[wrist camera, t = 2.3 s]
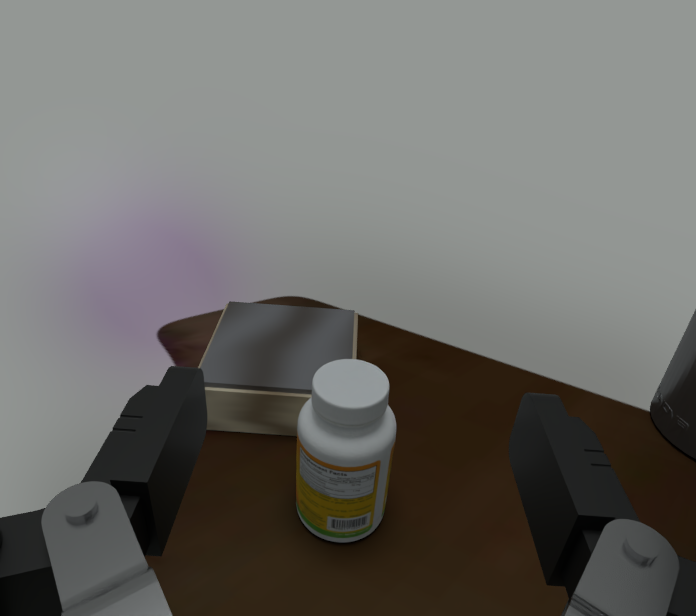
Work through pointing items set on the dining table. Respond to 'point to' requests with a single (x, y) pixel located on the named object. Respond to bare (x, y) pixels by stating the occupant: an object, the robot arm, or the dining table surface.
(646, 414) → the dining table surface
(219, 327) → the plinth
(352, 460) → the supplement bottle
